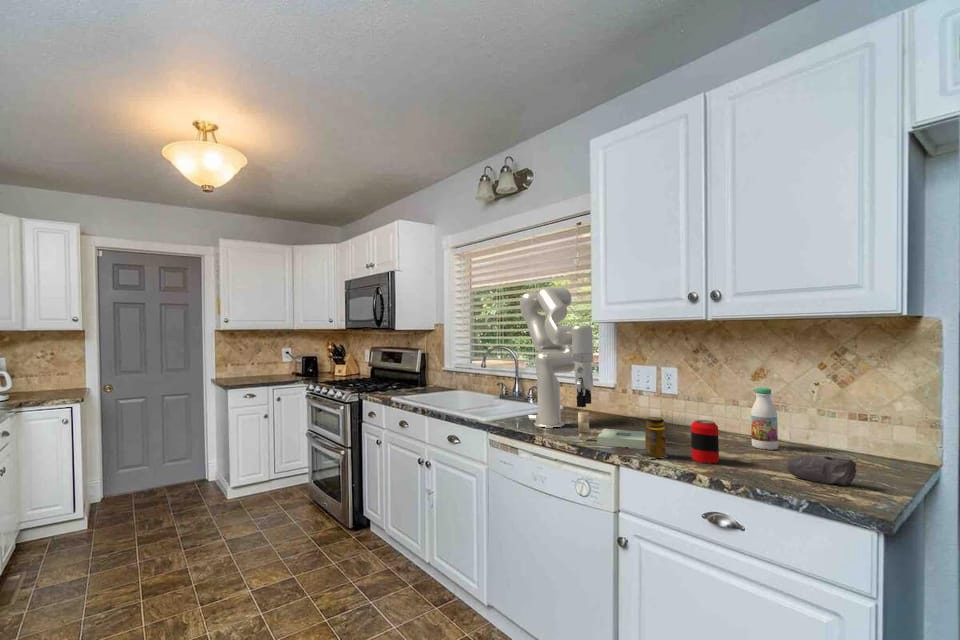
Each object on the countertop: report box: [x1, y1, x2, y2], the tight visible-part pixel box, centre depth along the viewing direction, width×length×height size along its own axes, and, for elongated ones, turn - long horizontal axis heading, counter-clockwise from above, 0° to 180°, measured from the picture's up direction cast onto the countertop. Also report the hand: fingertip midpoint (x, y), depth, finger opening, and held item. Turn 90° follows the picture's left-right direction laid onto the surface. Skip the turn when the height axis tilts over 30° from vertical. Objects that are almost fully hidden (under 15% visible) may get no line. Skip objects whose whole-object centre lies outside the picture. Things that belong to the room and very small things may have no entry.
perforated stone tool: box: [785, 455, 857, 486], centre depth 124 cm, size 15×5×7 cm, turn 47°
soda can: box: [690, 419, 720, 464], centre depth 145 cm, size 8×8×12 cm
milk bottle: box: [750, 387, 779, 451], centre depth 160 cm, size 8×8×20 cm
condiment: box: [635, 416, 667, 459], centre depth 151 cm, size 7×8×12 cm
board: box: [596, 428, 646, 450], centre depth 169 cm, size 16×14×3 cm
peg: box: [577, 411, 590, 441], centre depth 174 cm, size 4×4×10 cm
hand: (584, 405), depth 173 cm, fingers open, 9 cm apart
